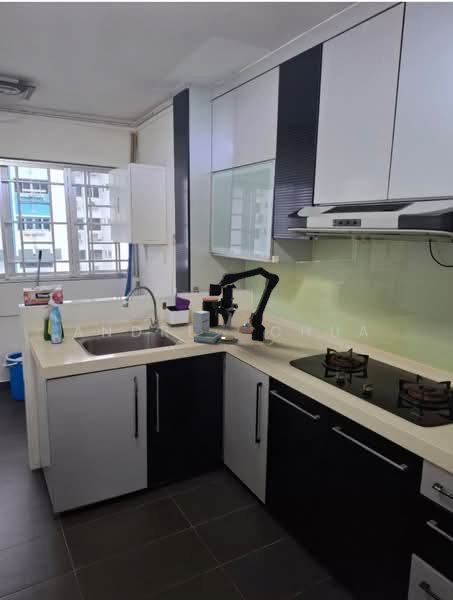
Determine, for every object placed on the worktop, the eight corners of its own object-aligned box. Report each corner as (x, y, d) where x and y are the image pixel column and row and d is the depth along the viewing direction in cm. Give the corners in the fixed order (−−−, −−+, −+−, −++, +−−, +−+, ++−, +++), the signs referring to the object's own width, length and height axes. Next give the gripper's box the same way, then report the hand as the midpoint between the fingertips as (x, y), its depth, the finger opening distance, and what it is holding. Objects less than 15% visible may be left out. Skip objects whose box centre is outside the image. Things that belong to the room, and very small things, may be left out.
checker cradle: (237, 340, 227) (237, 337, 226) (231, 344, 218) (231, 341, 218) (223, 338, 230) (223, 335, 230) (216, 342, 222) (216, 339, 221)
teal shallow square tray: (221, 338, 230) (221, 333, 229) (213, 343, 219) (213, 338, 218) (203, 336, 234) (203, 331, 234) (193, 341, 223) (193, 336, 223)
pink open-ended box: (254, 331, 246) (254, 325, 245) (250, 334, 239) (250, 328, 239) (243, 330, 248) (243, 324, 248) (239, 333, 242) (239, 326, 241)
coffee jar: (218, 327, 256) (218, 299, 253) (201, 327, 256) (201, 299, 253) (218, 323, 267) (218, 297, 264) (202, 323, 267) (202, 297, 264)
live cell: (232, 326, 224) (232, 311, 223) (229, 328, 220) (229, 313, 218) (224, 326, 226) (225, 311, 224) (222, 327, 221) (222, 312, 220)
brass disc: (236, 337, 226) (236, 335, 226) (231, 341, 218) (231, 339, 218) (223, 335, 229) (223, 334, 229) (217, 339, 222) (217, 337, 221)
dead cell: (250, 331, 245) (251, 322, 244) (248, 332, 241) (248, 323, 240) (244, 330, 246) (244, 321, 245) (242, 332, 243) (242, 323, 242)
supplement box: (201, 334, 239) (201, 313, 237) (192, 332, 244) (192, 312, 241) (209, 331, 245) (209, 311, 243) (200, 330, 249) (200, 310, 247)
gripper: (220, 292, 231) (220, 319, 234) (207, 297, 214) (207, 325, 217) (238, 294, 227) (238, 320, 230) (226, 299, 210) (226, 327, 213)
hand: (227, 323), depth 222 cm, fingers closed on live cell, 4 cm apart
